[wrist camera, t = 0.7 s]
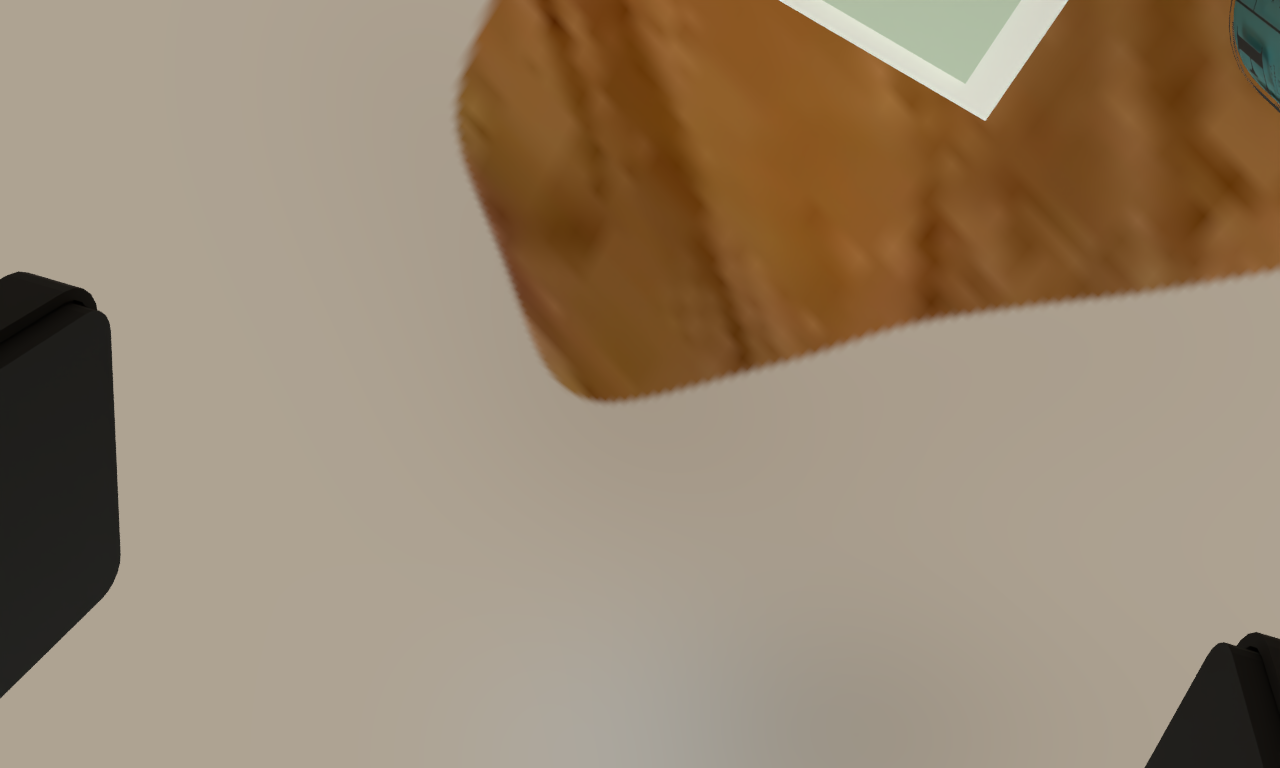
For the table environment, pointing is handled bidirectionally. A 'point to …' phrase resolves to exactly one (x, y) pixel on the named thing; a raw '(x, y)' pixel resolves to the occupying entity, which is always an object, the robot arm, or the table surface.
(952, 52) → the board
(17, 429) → the robot arm
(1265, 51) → the beverage bottle
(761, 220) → the table surface
